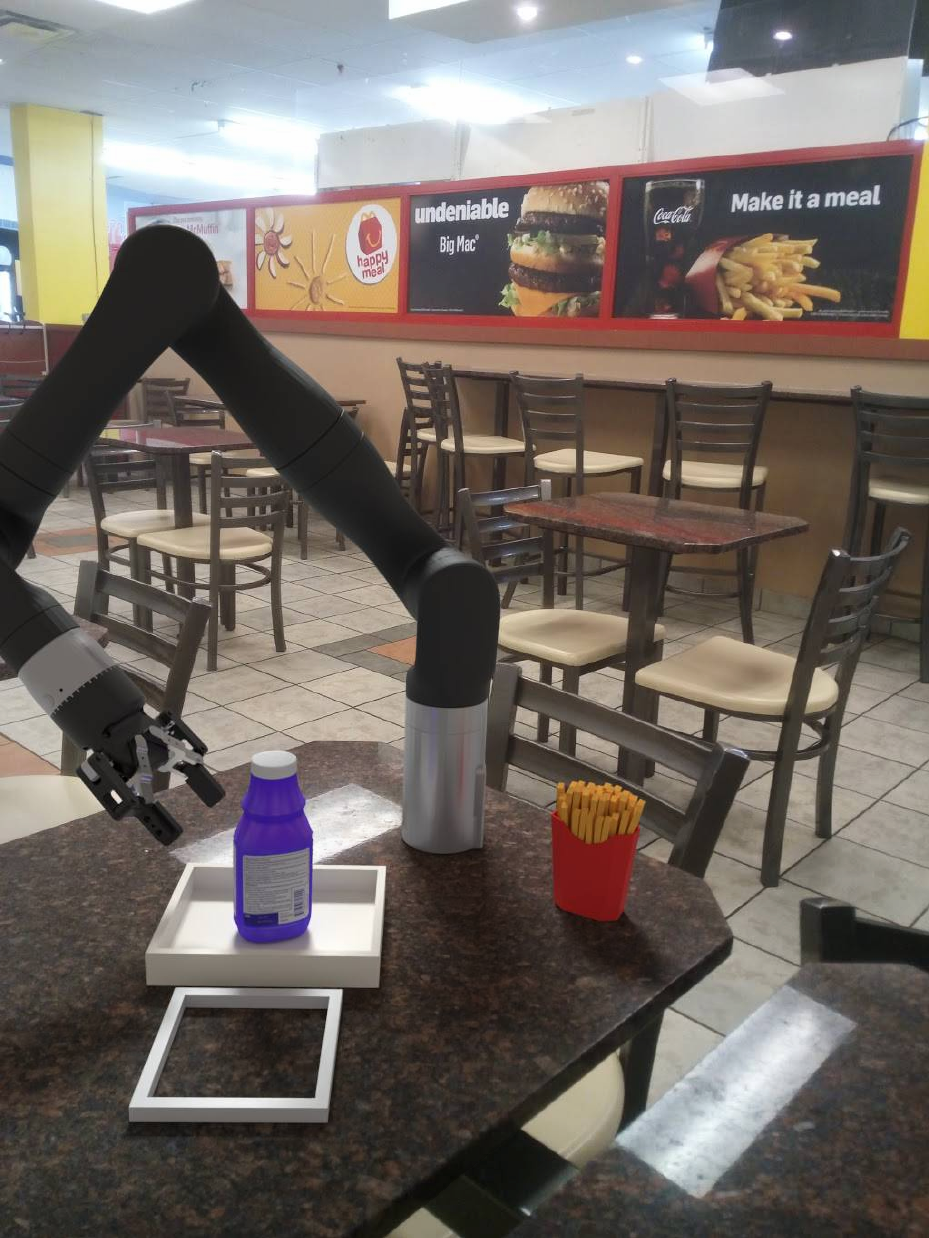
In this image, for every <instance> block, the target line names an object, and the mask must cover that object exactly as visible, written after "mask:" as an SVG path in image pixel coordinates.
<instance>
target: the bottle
mask: <svg viewBox="0 0 929 1238" xmlns="http://www.w3.org/2000/svg"><path fill="white" fill-rule="evenodd" d="M297 761H298V760H297V756H296V755H295V754H293V753H292V752H289V751H284V750H278V749H277V750H266V751H265V750H264V751H260V752H258V753H255V754H253V756H251V759H250V778H249V779H250V780H249V786H248V788H247V789H248V790H247V792H245V795H244V796H243V798H242V800H241V803H240V804H241V809H242V810H243V814H242V815H241V817H240V819H239V821H238V823H237V825H236V828H235V830H234V833H233V843H232V845H233V848H232V849H233V850H232V851H233V854H232V855H233V856H232V860H233V861H232V863H233V902H234V921H235V924H236V926H237V928H238V931H239V933H240V935H241V936H242V937H243V938H244V939H245V940H247V941H249V942H255V943H265V942H274V941H281V940H286V939H290V938H294V937H297V936H299V935H301V934H303V933H304V932H305V930H306V929H307V927H308V925H309V922H310V919H311V913H312V872H313V865H314V864H313V860H314V838H313V834H314V830H313V829H312V827H311V824H310V822H309V820H308V817H307V816H306V813H305V810H304V809H305V806H306V804H307V803H306V802H307V801H306V800H307V799H306V797H305V796H304V795H303V793H302V791H301V788H300V785H299V782H298V781H299V780H298V766H297V765H298V764H297Z"/></svg>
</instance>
